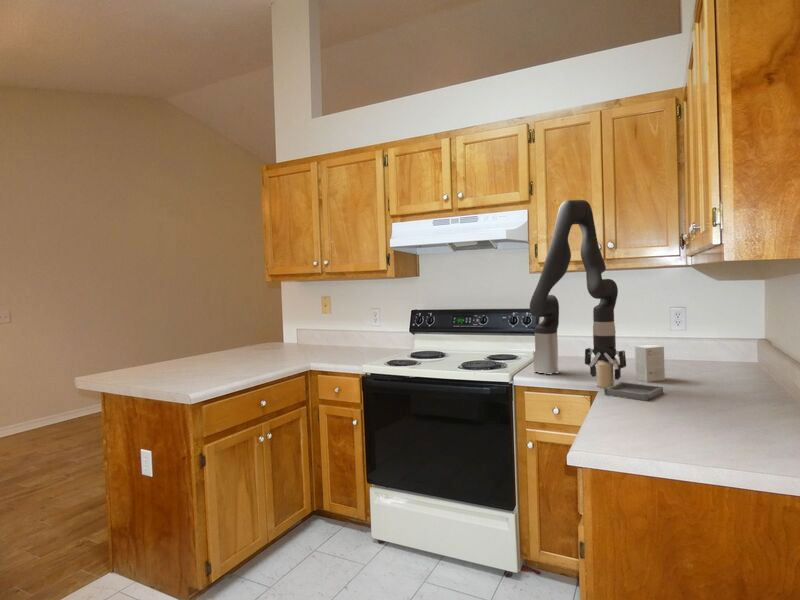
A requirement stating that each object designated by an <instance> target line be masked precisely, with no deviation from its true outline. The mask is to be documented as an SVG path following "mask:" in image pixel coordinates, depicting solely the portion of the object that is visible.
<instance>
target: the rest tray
mask: <svg viewBox="0 0 800 600" xmlns="http://www.w3.org/2000/svg"><path fill="white" fill-rule="evenodd" d="M603 389H604V390H603V391H604V395H605V396H609V395H613V396H612V397H616V396H620V397H619V398H623V397H626V398H625V399H630V398H632V399H631V400H637V399H638V401H644V402H649V401H651V400H653V399H654V398H657V397H658V396H661V394H663V393H664V386H656V385H649V384H648V385H647V384H640V383H639V384H638V383H633V382H626V381H620V382H618V383H616V384H615V383H614V385H613V386H611V387H608V388H603Z"/></svg>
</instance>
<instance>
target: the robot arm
mask: <svg viewBox="0 0 800 600" xmlns="http://www.w3.org/2000/svg"><path fill="white" fill-rule="evenodd" d="M557 211H558V212H557V214H556V219H555V220H556V221H555V225H554V230H553V232H552V233H553V234H552V238H551V241H550V245H549V249H548V251H547V253H546V257H545V259H544V263H543V267H542V271H541V273H540V276H539V280H538V281H537V282H538V283H537V284H536V286H535V289H534V291H533V294H532V297H531V298H530V302H529V312H530V314H531V315H532V316H533V317H534V318H543V320H542V321H541V322H540V323H538V324H536V325H535V326H534V348H535V349H534V350H532V351H533V353H532V355H533V372H534V371H537V372H542V373H556V372H558V373H559V347H558V328H559V324H560V323H559V322H560V320H559V319H560V303H559V301H558V300H559V299H558V298H557V297H556V296H555V295H553V294H550V291H552V289H553V287H555V285H556V284H557V283H559V281H560V280H562V278H563V277H564V275H565V274H566V273H567V270H568V268H569V265H570V262H571V259H572V252H571V251H572V250H571V247H570V244H569V236H570V232H571V229H572V226H573V225H578V226H579V228H580V230H581V231H580V232H581V235H582V240H581V246H580V257H581V261H582V264H583V267H584V270H585V276H586V277H585V279H586V289H587V291H588V293H589V295H590V297H592V298H594V300H595V299H596V300H599V299H600V300H599V303H598V304H597V305H594V307H593V310H592V312H593V313H592V314H593V315H592V320H593V321H592V322H593V325H592V339H593V341H592V342H593V348H591V347H588V348H585V350H584V364H585V365H587V366H589V369H590V370H589V373H590V375H591V377H592V378H593V377H594V378H595V377H597V363H598V362H599V361H600V360H603V361H606V362H610V363H611V364H612V365H613V368H614V380H619V379H620V378H621V377H622V376H621V375H622V374H621V372H622V371H621V369H624V368H626V367H627V358H626V351H625V350H617V349H616V344H617V340H616V333H617V332H616V326H615V325H616V324H615V307H616V303H617V298H618V294H619V289H618V284H617V283H616V282H615V281H614V279H611V278H604V279H603V277H602V274H603V273H604V272H605V271H606V270H607V269H606V268H607V266H606V263H605V260H604V258H603V255H602V252H601V249H600V246H599V242H598V237H597V232H596V230H597V229H596V226H595V220H594V214H593V210H592V207H591V205H590V202H588V201H587V200H585V199H567V200H564V201H563V202H562V203H561V204H560V206H559V207H558V210H557ZM592 354H594V355H593V356H594V357H593V358H592ZM616 355H617V357H618V358H619V359H617V358H616Z"/></svg>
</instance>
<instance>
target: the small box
mask: <svg viewBox="0 0 800 600" xmlns="http://www.w3.org/2000/svg"><path fill="white" fill-rule="evenodd" d="M634 352H635V353H634V355H635V356H634V357H635V358H634V359H635V363H634V364H635V379H636V380H639V381H641V382H645V383H648V382H650V383H651V382H659V381H665V380H666V375H665V374H666V373H665V346H663V345H657V344H646V345H643V344H642V345H635V346H634Z"/></svg>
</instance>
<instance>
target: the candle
mask: <svg viewBox="0 0 800 600" xmlns="http://www.w3.org/2000/svg"><path fill="white" fill-rule="evenodd" d="M596 381H597V382H596V383H597V387H598V388H601V389H606V388H608V387H611V386H613V385H615V383H614V366H613V365H612V364H611V363H610V362H606V361H603V360H600V361H598V362H597V364H596Z"/></svg>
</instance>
